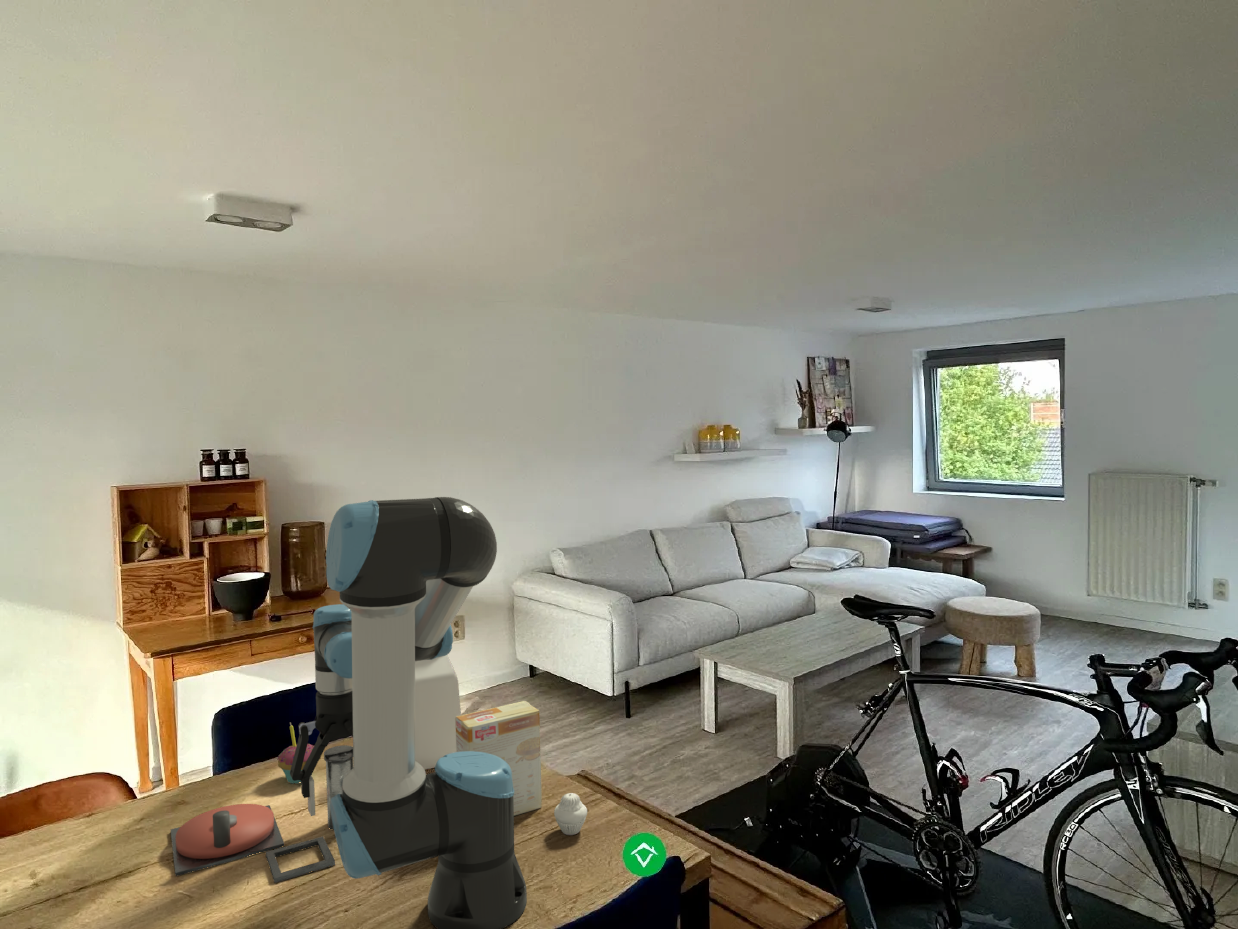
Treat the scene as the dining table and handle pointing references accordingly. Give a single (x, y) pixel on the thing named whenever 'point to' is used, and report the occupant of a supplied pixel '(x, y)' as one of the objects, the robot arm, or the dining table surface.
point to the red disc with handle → (224, 831)
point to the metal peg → (336, 772)
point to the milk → (435, 710)
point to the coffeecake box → (508, 746)
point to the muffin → (570, 814)
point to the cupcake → (288, 756)
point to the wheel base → (192, 864)
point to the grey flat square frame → (304, 869)
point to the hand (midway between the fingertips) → (341, 805)
